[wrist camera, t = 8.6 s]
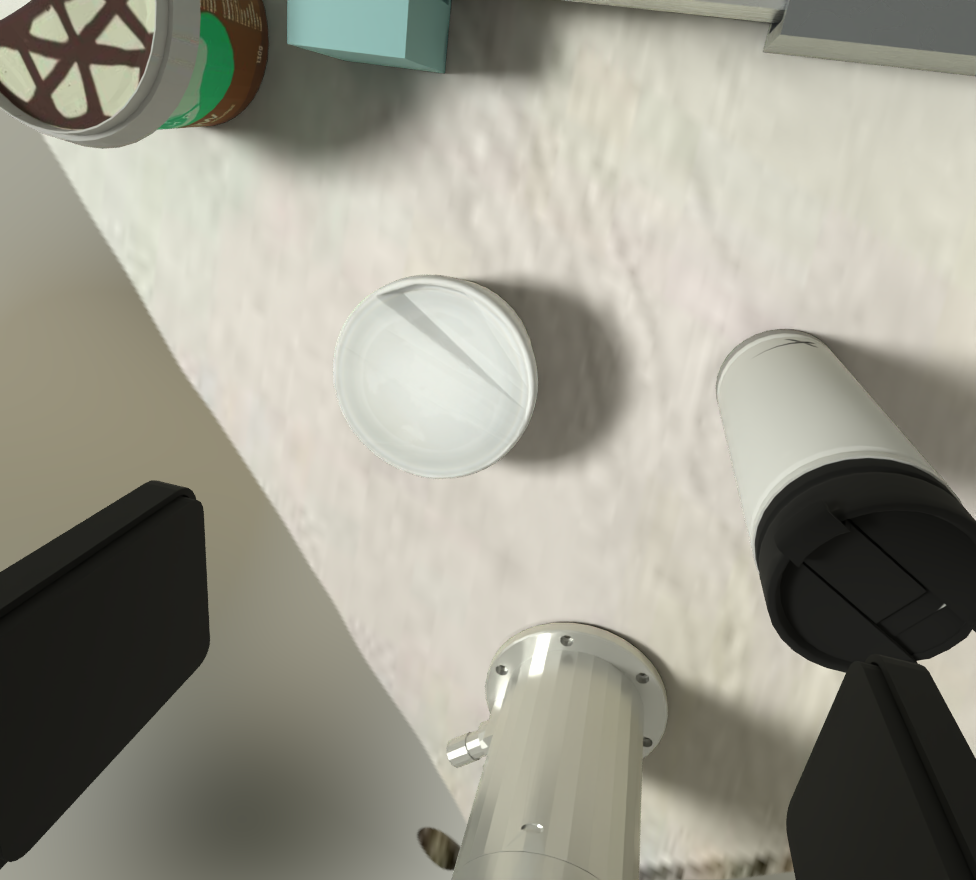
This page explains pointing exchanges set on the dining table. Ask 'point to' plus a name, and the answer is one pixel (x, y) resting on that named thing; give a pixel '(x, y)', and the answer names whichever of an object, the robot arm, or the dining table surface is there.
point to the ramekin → (435, 376)
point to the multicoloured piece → (709, 7)
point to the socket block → (373, 31)
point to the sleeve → (881, 33)
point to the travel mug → (842, 510)
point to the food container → (130, 66)
